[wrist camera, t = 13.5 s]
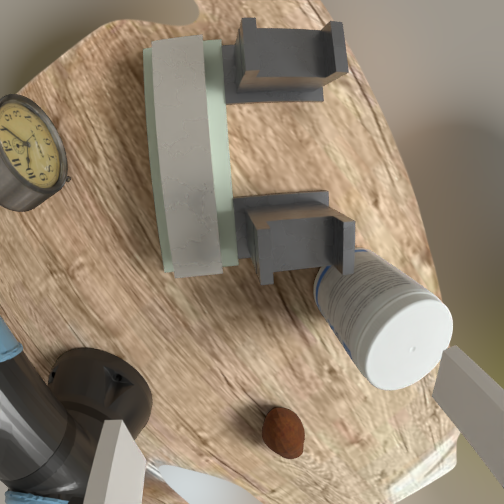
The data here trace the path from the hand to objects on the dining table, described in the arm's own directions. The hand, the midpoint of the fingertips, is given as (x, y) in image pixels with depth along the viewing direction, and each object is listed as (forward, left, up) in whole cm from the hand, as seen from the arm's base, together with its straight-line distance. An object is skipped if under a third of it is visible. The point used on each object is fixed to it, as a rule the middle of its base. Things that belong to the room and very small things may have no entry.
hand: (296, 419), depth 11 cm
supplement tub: (+12, -6, -25) cm, 29 cm away
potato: (+3, -28, -25) cm, 38 cm away
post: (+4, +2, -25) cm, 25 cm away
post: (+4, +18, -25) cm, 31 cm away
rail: (-5, +10, -24) cm, 26 cm away
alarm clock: (-21, +13, -25) cm, 35 cm away
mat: (-5, +10, -25) cm, 27 cm away
